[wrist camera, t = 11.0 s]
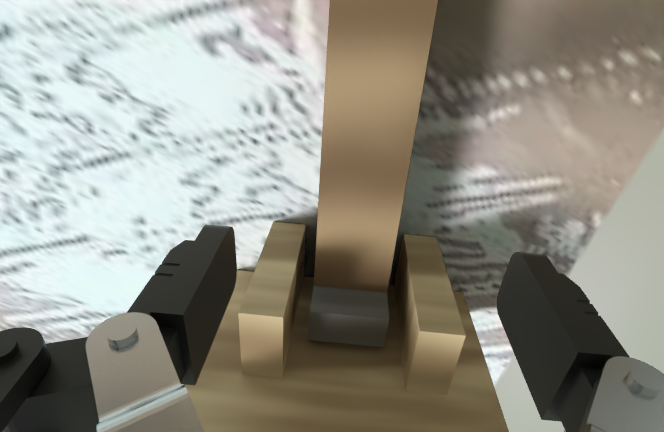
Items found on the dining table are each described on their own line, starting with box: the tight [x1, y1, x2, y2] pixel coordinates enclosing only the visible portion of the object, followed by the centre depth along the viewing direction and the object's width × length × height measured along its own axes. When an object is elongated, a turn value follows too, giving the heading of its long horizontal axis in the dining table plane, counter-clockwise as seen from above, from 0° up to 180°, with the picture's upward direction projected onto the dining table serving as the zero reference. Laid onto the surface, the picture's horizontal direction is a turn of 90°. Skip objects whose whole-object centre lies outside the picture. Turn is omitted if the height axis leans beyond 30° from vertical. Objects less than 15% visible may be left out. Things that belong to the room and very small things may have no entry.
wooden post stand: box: [184, 222, 509, 432], centre depth 19 cm, size 6×15×16 cm, turn 86°
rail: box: [308, 0, 438, 347], centre depth 19 cm, size 18×4×6 cm, turn 176°
